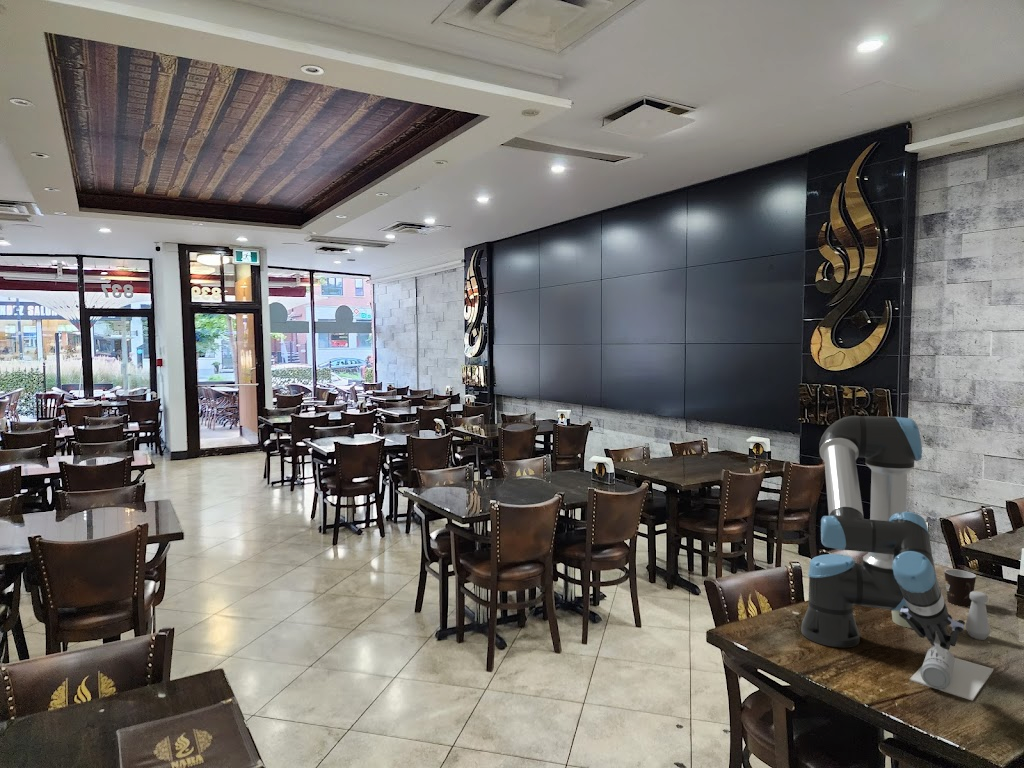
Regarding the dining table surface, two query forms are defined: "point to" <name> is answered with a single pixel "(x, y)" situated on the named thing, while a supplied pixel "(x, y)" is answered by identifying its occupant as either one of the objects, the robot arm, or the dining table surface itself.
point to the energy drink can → (937, 669)
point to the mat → (962, 679)
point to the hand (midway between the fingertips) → (943, 651)
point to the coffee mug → (959, 586)
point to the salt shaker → (978, 616)
